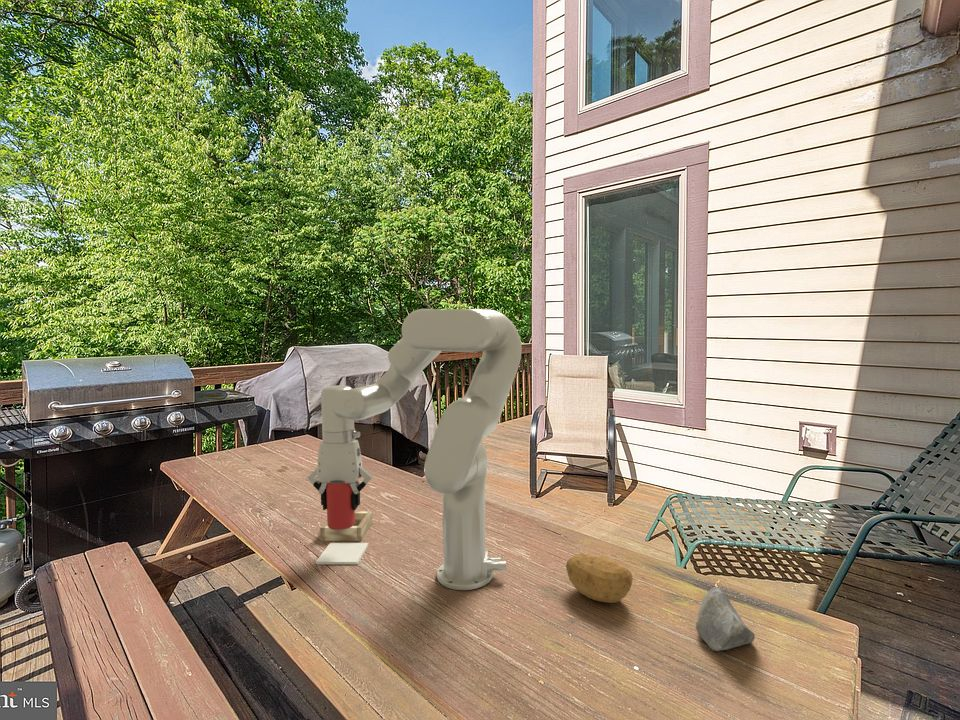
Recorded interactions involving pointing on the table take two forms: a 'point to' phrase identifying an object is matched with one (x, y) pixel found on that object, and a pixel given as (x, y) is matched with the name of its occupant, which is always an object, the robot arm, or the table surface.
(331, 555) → the coaster
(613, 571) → the potato
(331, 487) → the beer can
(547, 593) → the table surface
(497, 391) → the robot arm
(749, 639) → the stone
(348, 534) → the frame
